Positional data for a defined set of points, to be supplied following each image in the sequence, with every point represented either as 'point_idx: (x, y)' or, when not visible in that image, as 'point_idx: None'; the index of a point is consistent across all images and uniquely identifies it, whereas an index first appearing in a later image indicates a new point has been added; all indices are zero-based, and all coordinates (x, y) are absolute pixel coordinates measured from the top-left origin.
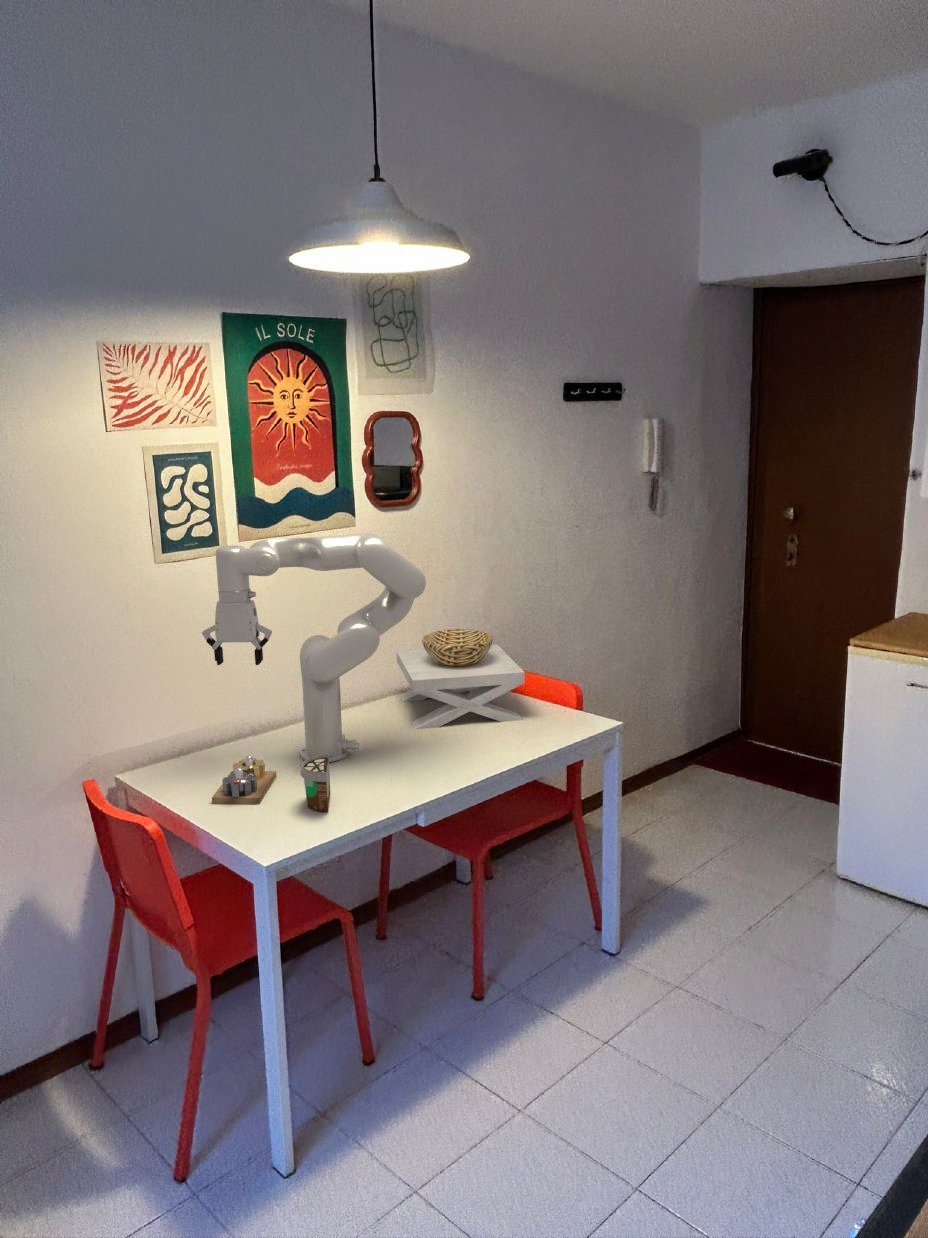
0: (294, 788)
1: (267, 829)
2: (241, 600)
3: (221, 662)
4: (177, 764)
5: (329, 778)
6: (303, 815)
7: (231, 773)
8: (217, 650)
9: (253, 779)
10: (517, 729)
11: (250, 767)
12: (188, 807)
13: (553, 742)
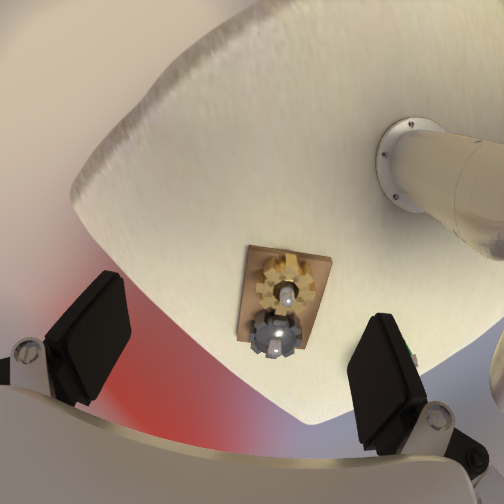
0: (356, 303)
1: (313, 390)
2: None
3: (125, 315)
4: (134, 173)
5: (405, 343)
6: None
7: (249, 261)
8: (87, 401)
9: (297, 345)
10: None
11: (290, 307)
12: (207, 337)
13: None
